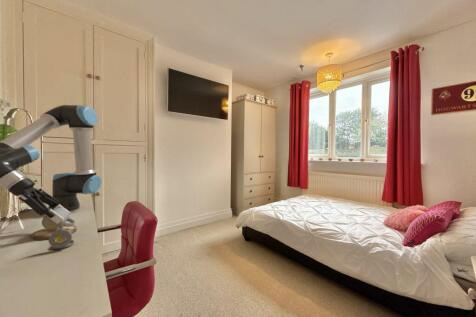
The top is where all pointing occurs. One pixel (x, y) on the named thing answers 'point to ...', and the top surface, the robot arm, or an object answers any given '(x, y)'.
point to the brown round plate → (49, 233)
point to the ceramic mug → (64, 214)
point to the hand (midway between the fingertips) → (64, 218)
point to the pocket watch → (61, 238)
